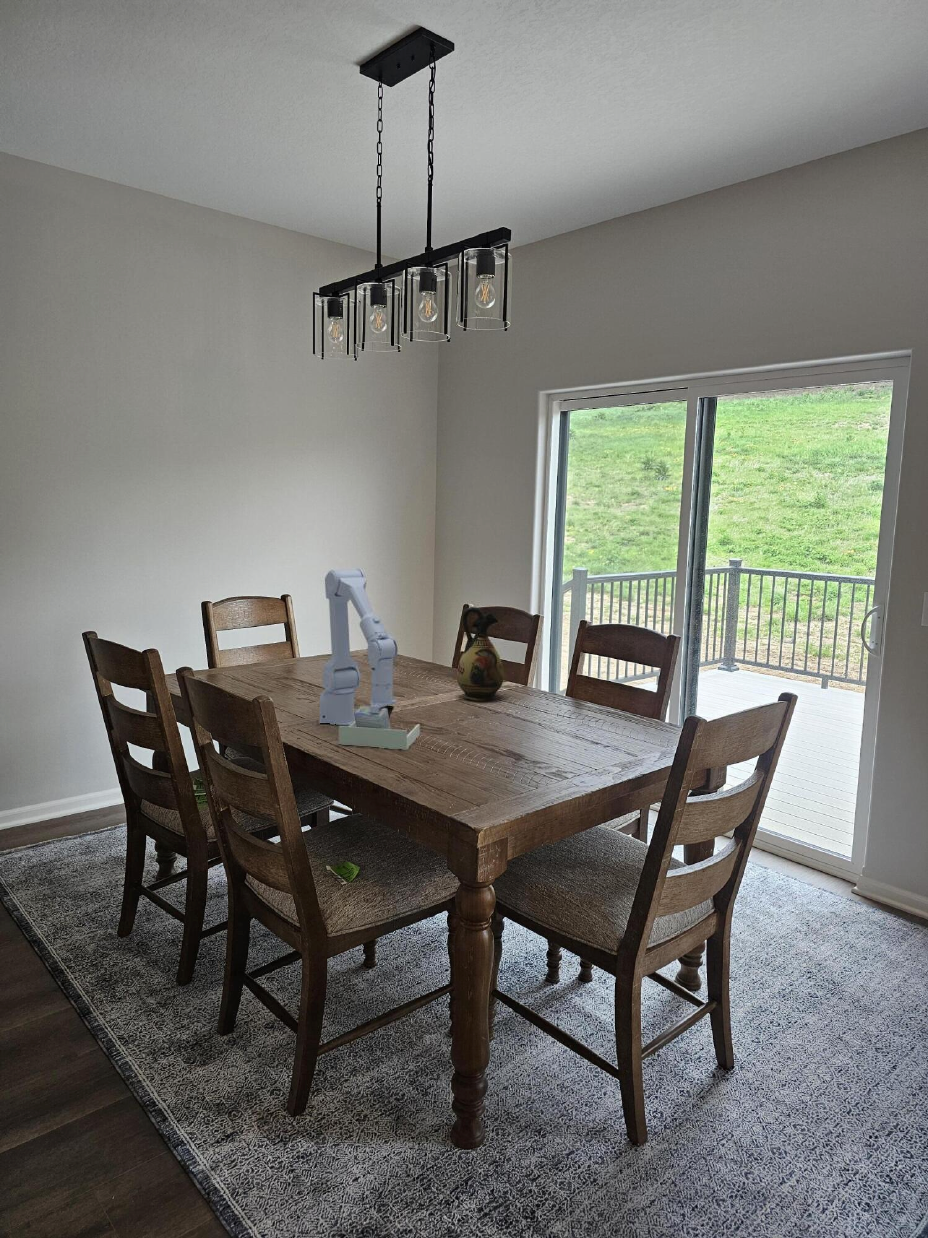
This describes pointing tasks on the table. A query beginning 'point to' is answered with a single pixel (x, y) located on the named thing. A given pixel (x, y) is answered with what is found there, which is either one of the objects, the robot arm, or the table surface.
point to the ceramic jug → (480, 660)
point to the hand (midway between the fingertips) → (381, 733)
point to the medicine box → (372, 718)
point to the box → (377, 737)
